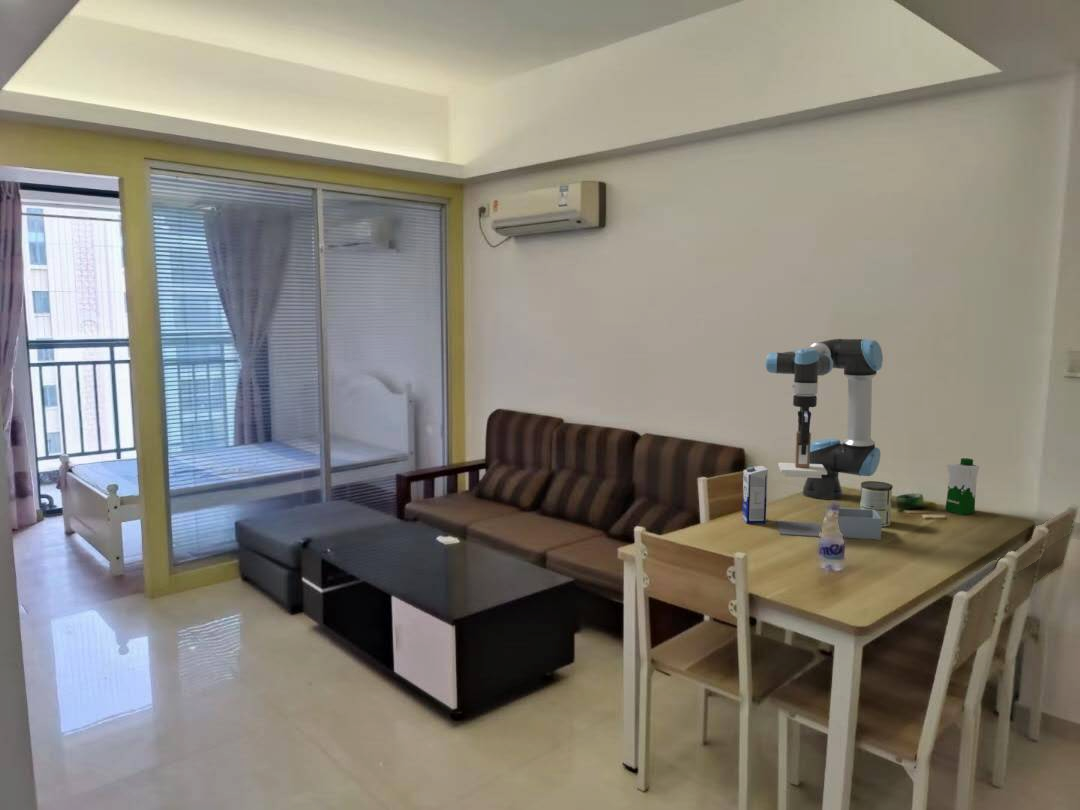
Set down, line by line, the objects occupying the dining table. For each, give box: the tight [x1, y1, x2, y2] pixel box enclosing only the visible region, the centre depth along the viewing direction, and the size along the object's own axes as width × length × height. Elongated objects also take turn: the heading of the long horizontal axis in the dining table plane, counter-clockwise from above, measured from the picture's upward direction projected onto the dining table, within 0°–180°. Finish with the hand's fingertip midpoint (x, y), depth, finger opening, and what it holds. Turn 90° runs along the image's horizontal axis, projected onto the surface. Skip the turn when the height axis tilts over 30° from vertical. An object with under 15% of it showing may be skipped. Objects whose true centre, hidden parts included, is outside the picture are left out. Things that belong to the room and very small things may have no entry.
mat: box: [776, 520, 821, 538], centre depth 254 cm, size 16×14×1 cm
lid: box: [777, 431, 827, 479], centre depth 251 cm, size 13×15×15 cm
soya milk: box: [944, 457, 980, 516], centre depth 275 cm, size 9×9×20 cm
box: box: [837, 507, 882, 540], centre depth 250 cm, size 12×14×7 cm
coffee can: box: [859, 480, 894, 528], centre depth 262 cm, size 10×10×14 cm
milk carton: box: [741, 465, 769, 525], centre depth 264 cm, size 7×7×20 cm
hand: (802, 462), depth 251 cm, fingers closed on lid, 3 cm apart
